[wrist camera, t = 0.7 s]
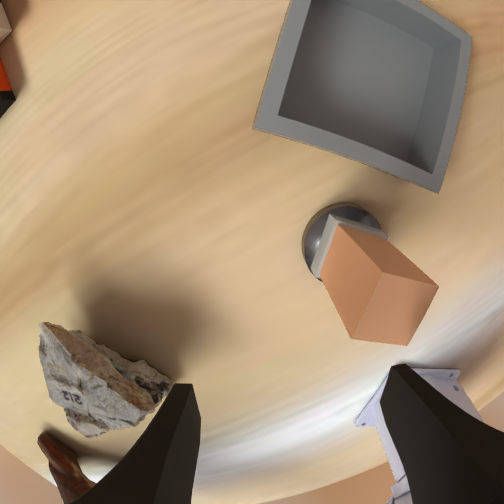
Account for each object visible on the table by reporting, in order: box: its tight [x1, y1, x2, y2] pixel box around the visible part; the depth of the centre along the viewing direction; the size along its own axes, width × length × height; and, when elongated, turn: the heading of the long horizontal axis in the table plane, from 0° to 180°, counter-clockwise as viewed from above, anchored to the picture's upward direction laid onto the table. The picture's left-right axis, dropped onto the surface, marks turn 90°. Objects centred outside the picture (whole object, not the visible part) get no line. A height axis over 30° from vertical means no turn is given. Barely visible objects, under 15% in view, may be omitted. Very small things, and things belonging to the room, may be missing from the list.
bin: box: [252, 0, 472, 194], centre depth 13 cm, size 10×10×4 cm
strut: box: [311, 214, 439, 346], centre depth 14 cm, size 3×3×7 cm
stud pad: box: [302, 203, 382, 282], centre depth 18 cm, size 5×5×1 cm
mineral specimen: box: [39, 322, 172, 438], centre depth 19 cm, size 10×8×10 cm
